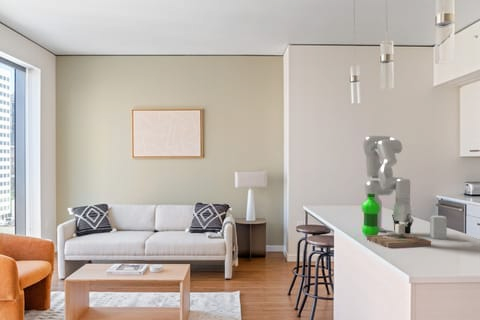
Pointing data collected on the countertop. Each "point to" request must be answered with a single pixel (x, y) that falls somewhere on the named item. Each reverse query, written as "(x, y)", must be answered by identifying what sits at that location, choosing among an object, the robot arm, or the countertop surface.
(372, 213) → the plastic bottle
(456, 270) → the countertop surface
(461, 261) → the countertop surface
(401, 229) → the white piece
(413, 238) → the tuner board
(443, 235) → the supplement box
